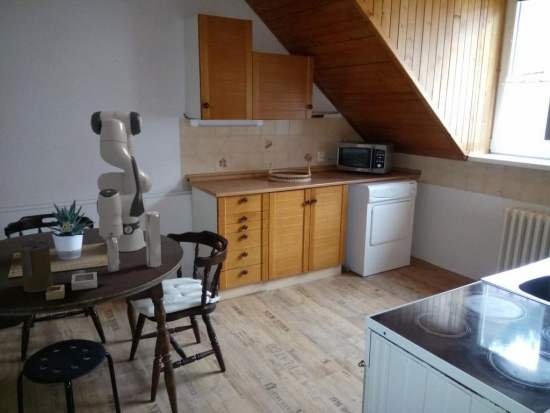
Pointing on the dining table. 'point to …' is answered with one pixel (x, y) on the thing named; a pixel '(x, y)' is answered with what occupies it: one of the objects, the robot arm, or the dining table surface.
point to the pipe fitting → (114, 267)
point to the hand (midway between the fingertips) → (113, 262)
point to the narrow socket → (55, 292)
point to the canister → (35, 265)
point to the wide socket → (84, 281)
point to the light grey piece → (153, 239)
